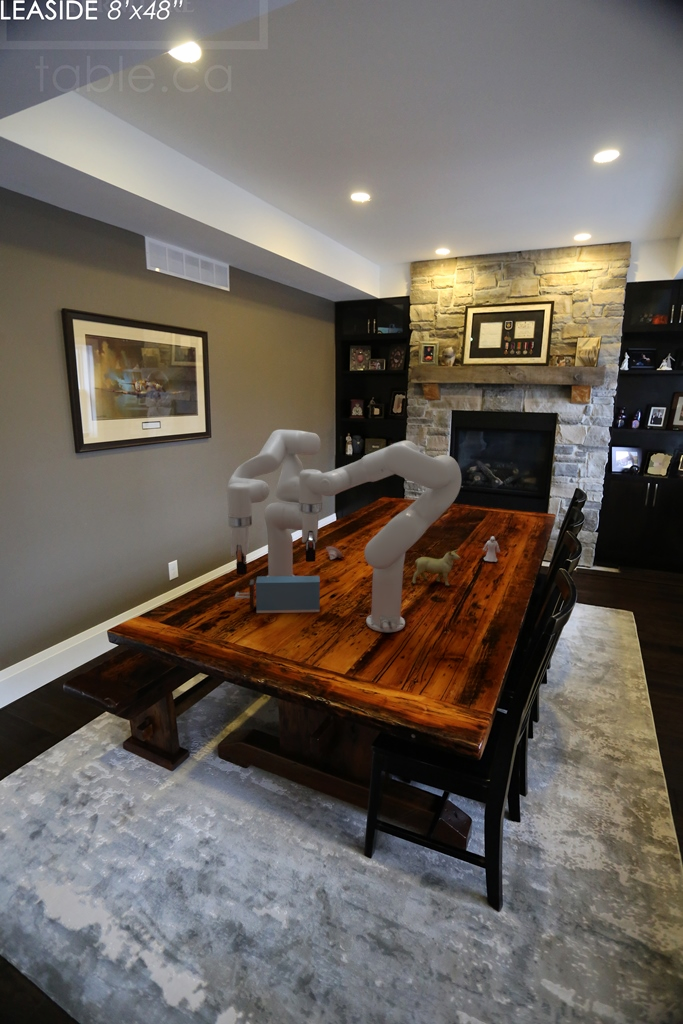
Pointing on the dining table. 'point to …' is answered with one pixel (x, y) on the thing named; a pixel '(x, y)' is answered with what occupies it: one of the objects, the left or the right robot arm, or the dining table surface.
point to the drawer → (252, 594)
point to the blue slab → (287, 594)
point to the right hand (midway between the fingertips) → (310, 556)
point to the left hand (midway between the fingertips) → (241, 573)
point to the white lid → (333, 552)
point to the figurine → (491, 550)
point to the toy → (435, 566)
